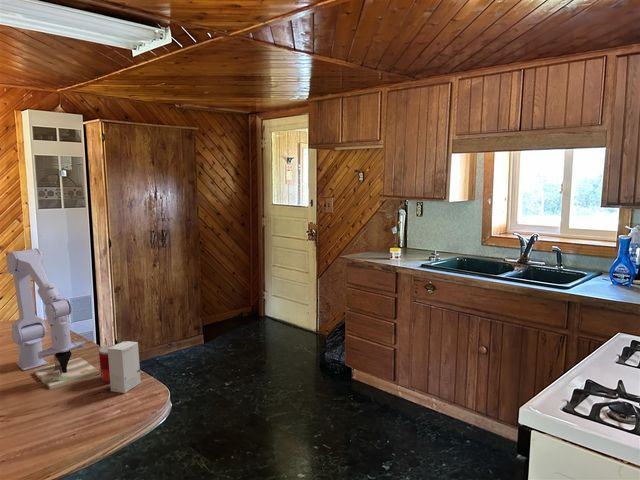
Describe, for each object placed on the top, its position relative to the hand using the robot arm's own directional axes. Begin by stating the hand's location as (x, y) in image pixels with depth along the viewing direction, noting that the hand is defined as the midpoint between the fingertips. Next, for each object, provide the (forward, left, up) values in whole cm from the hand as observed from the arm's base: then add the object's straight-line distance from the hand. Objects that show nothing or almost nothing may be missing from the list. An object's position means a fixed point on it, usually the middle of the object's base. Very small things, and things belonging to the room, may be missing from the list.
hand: (64, 372), depth 162 cm
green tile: (+2, -2, -1) cm, 3 cm away
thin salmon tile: (+2, +6, -1) cm, 7 cm away
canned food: (+12, +12, -3) cm, 17 cm away
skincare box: (+22, +12, -3) cm, 25 cm away
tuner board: (-4, +2, -3) cm, 5 cm away
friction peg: (-4, 0, -1) cm, 4 cm away
